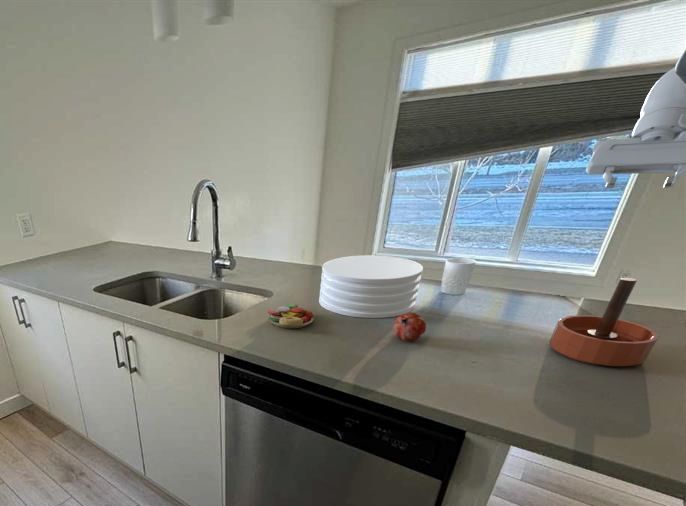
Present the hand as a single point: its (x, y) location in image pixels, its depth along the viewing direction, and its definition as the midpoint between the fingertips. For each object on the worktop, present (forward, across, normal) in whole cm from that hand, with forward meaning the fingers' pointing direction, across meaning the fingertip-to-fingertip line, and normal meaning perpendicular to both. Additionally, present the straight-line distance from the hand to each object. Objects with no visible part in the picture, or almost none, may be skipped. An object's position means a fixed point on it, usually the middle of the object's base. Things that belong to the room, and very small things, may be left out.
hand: (638, 186), depth 92 cm
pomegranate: (+49, -32, -5) cm, 59 cm away
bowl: (+40, +3, +4) cm, 40 cm away
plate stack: (+34, -50, +11) cm, 62 cm away
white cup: (+18, -31, +27) cm, 45 cm away
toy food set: (+52, -62, -8) cm, 82 cm away
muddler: (+40, +3, +4) cm, 40 cm away
